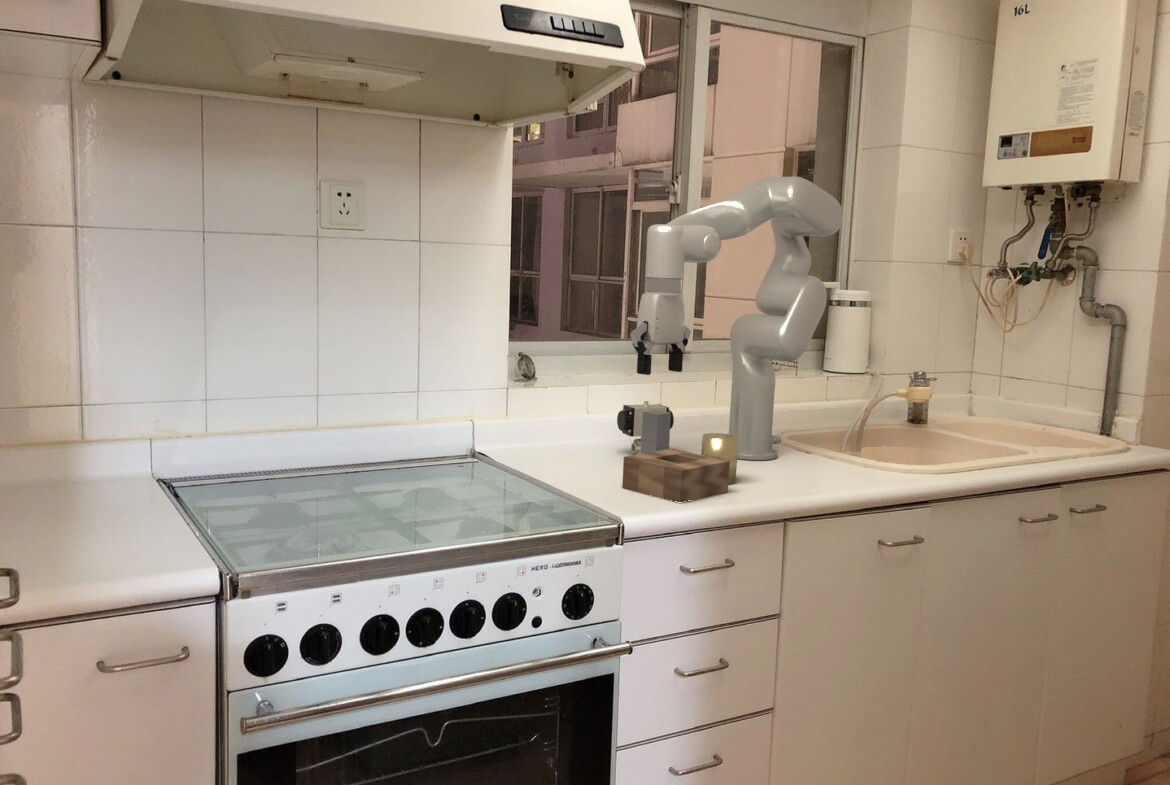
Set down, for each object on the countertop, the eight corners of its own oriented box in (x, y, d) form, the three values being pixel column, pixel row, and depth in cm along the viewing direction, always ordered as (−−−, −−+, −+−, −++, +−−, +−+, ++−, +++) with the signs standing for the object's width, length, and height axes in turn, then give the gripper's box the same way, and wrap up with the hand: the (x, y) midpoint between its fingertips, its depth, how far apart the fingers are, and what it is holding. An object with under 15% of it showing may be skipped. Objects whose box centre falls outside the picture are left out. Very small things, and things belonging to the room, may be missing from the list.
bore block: (670, 478, 194) (672, 448, 193) (727, 492, 184) (729, 461, 183) (622, 488, 184) (623, 456, 183) (679, 503, 174) (681, 470, 173)
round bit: (714, 475, 198) (717, 431, 197) (742, 482, 193) (745, 437, 192) (692, 480, 193) (695, 435, 192) (720, 487, 188) (723, 441, 187)
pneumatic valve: (672, 456, 216) (675, 402, 214) (623, 458, 211) (626, 403, 210) (661, 451, 221) (664, 398, 219) (613, 453, 217) (616, 399, 215)
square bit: (653, 467, 204) (656, 410, 202) (667, 470, 201) (670, 412, 199) (640, 469, 201) (643, 411, 199) (654, 473, 198) (657, 414, 196)
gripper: (676, 286, 204) (672, 368, 206) (620, 286, 192) (616, 373, 194) (705, 288, 199) (701, 372, 201) (649, 288, 187) (645, 377, 189)
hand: (659, 372), depth 198 cm, fingers open, 9 cm apart
